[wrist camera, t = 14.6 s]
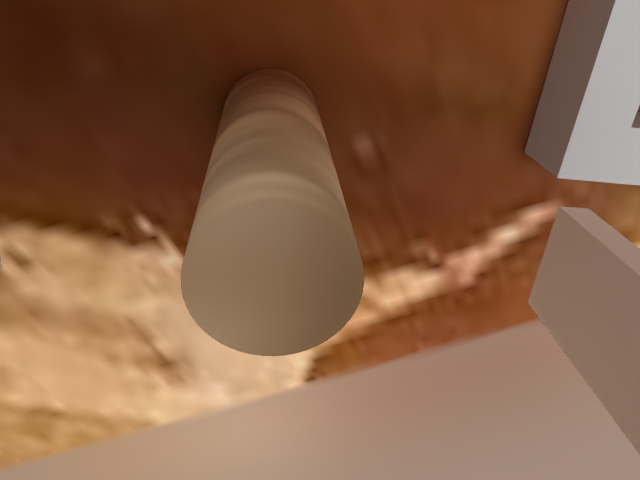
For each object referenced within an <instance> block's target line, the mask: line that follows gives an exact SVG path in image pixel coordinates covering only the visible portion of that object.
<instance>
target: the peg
mask: <svg viewBox="0 0 640 480" xmlns="http://www.w3.org/2000/svg"><path fill="white" fill-rule="evenodd" d="M363 286H364V269H363V263H362V259H361V256H360V252H359V249H358V246H357V242H356V239H355V235H354V232H353V228H352V225H351V222H350V218H349V215H348V211H347V208H346V204H345V201H344V198H343V194H342V191H341V187H340V184H339V180H338V177H337V174H336V170H335V167H334V163H333V160H332V156H331V153H330V150H329V146H328V143H327V139H326V136H325V132H324V129H323V126H322V122H321V119H320V115H319V112H318V108H317V105H316V102H315V98H314V96H313V94H312V92H311V91H310V89H309V88H308V86H307V85H306V84H305V83H304V82H303V81H302V80H301V79H300V78H298V77H297V76H296V75H294V74H292V73H290V72H288V71H285V70H282V69H277V68H263V69H258V70H255V71H252V72H250V73H248V74H246V75H244V76H243V77H241V78H240V79H239V80H238V81H237V82H236V83H235V84H234V85H233V87H232V88H231V90H230V91H229V93H228V96H227V98H226V101H225V105H224V109H223V112H222V116H221V120H220V124H219V128H218V131H217V135H216V139H215V143H214V147H213V150H212V154H211V158H210V162H209V166H208V169H207V173H206V177H205V181H204V184H203V188H202V192H201V196H200V200H199V203H198V207H197V211H196V215H195V219H194V222H193V226H192V230H191V234H190V238H189V241H188V245H187V249H186V253H185V257H184V260H183V264H182V270H181V289H182V295H183V298H184V301H185V304H186V307H187V309H188V310H189V312H190V314H191V316H192V317H193V319H194V320H195V321H196V323H197V324H198V325H199V326H200V327H201V328H202V329H203V330H204V331H205V332H206V333H207V334H208V335H210V336H211V337H212V338H214V339H215V340H217V341H218V342H220V343H221V344H223V345H226V346H228V347H230V348H232V349H235V350H238V351H241V352H244V353H249V354H253V355H261V356H281V355H289V354H294V353H298V352H302V351H305V350H308V349H311V348H313V347H315V346H318V345H319V344H321V343H323V342H325V341H327V340H328V339H330V338H331V337H332V336H334V335H335V334H336V333H337V332H338V331H340V330H341V329H342V328H343V327H344V326H345V324H346V323H347V322H348V321H349V320H350V318H351V317H352V315H353V314H354V312H355V311H356V309H357V306H358V304H359V302H360V299H361V296H362V293H363Z"/></svg>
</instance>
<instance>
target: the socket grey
mask: <svg viewBox="0 0 640 480" xmlns="http://www.w3.org/2000/svg"><path fill="white" fill-rule="evenodd" d="M639 105H640V0H569V1H568V4H567V8H566V11H565V15H564V18H563V21H562V25H561V28H560V32H559V35H558V38H557V42H556V45H555V49H554V52H553V56H552V59H551V62H550V66H549V69H548V73H547V76H546V79H545V83H544V86H543V90H542V93H541V96H540V100H539V103H538V107H537V110H536V113H535V117H534V120H533V124H532V127H531V131H530V134H529V137H528V141H527V144H526V148H525V151H524V152H525V153H526V154H527V155H528V156H530V157H531V158H532V159H534V160H535V161H536V162H537V163H539V164H540V165H541V166H543V167H544V168H545V169H546V170H548V171H549V172H550V173H551V174H553V175H554V176H555V177H557V178H562V179H573V180H585V181H596V182H607V183H619V184H630V185H640V112H637V110H638V108H639Z"/></svg>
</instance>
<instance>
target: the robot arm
mask: <svg viewBox="0 0 640 480" xmlns="http://www.w3.org/2000/svg"><path fill="white" fill-rule="evenodd" d="M1 269H2V265H1V258H0V270H1ZM528 304H529V305H530V306H531V308H532V309H533V310H534V312H535V313H536V315H537V316H538V317H539V319H540V320H541V321H542V323H543V324H544V325H545V327H546V328H547V329H548V331H549V332H550V334H551V335H552V336H553V338H554V339H555V340H556V342H557V343H558V344H559V346H560V347H561V348H562V350H563V351H564V353H565V354H566V355H567V357H568V358H569V359H570V361H571V362H572V363H573V365H574V366H575V367H576V369H577V370H578V372H579V373H580V374H581V376H582V377H583V378H584V380H585V381H586V382H587V384H588V385H589V386H590V388H591V389H592V390H593V392H594V393H595V395H596V396H597V397H598V399H599V400H600V401H601V403H602V404H603V405H604V407H605V408H606V410H607V411H608V412H609V414H610V415H611V416H612V418H613V419H614V420H615V422H616V423H617V424H618V426H619V427H620V428H621V430H622V431H623V433H624V434H625V435H626V437H627V438H628V439H629V441H630V442H631V443H632V445H633V446H634V447H635V449H636V450H637V452H638V453H639V454H640V249H639V248H638V247H637V246H635V245H634V244H633V243H632V242H630V241H629V240H628V239H626V238H625V237H624V236H623V235H621V234H620V233H619V232H618V231H616V230H615V229H614V228H613V227H611V226H610V225H609V224H607V223H606V222H605V221H604V220H602V219H601V218H600V217H599V216H597V215H596V214H595V213H594V212H592V211H591V210H590V209H585V208H573V207H562V206H559V209H558V212H557V215H556V218H555V221H554V224H553V227H552V230H551V233H550V236H549V239H548V242H547V245H546V248H545V251H544V254H543V257H542V260H541V263H540V266H539V269H538V272H537V275H536V279H535V282H534V285H533V288H532V291H531V294H530V297H529V300H528Z"/></svg>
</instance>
